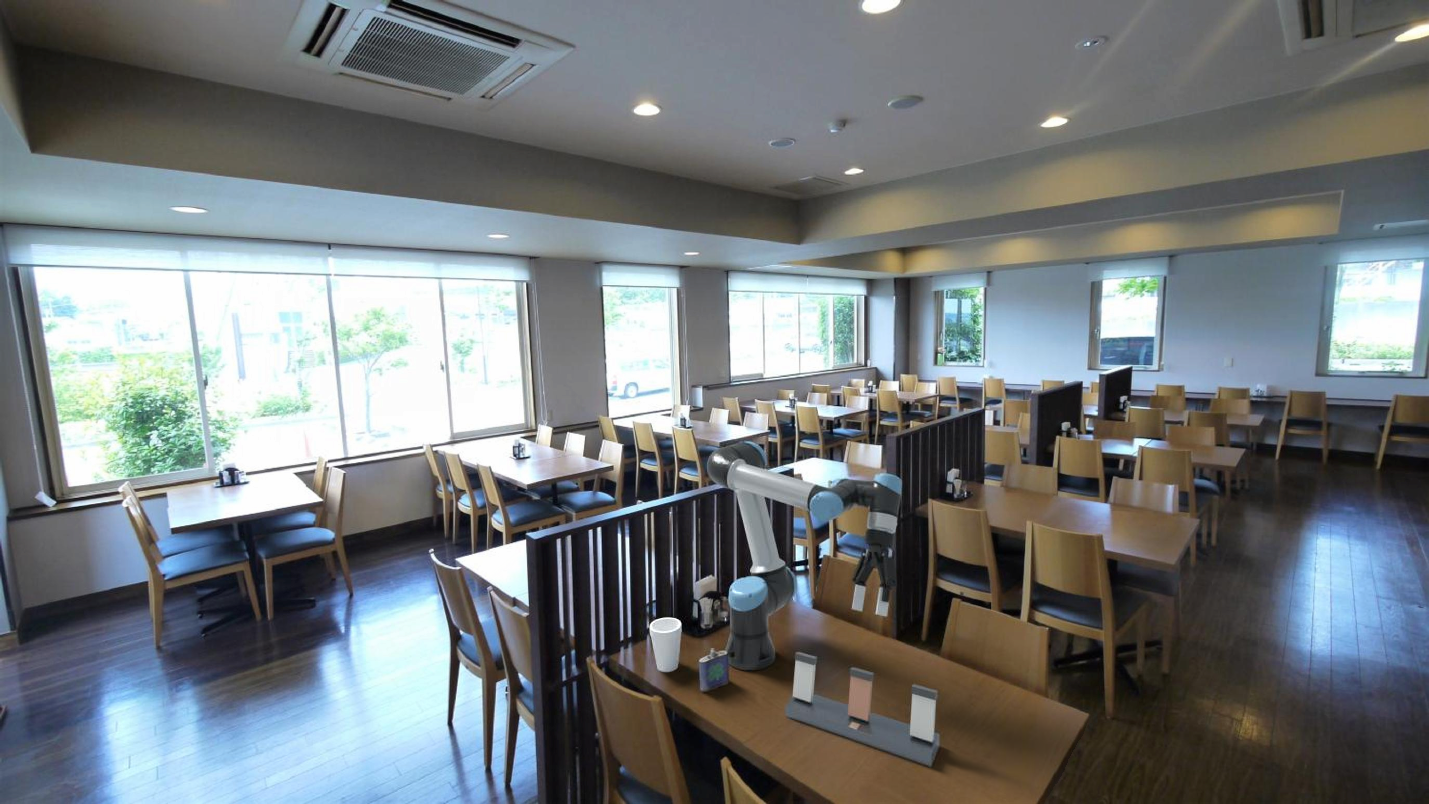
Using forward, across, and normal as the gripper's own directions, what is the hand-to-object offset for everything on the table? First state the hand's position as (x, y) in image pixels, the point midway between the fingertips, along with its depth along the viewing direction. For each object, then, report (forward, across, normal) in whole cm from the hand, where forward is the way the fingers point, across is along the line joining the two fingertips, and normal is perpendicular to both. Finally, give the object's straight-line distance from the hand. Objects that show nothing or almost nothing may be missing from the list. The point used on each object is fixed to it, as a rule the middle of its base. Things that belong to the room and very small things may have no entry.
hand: (868, 612), depth 152 cm
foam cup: (+29, +41, +41) cm, 64 cm away
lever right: (+24, -11, -12) cm, 29 cm away
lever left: (+24, +9, +10) cm, 28 cm away
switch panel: (+28, 0, -2) cm, 28 cm away
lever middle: (+24, -1, -1) cm, 24 cm away
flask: (+29, +28, +29) cm, 49 cm away
